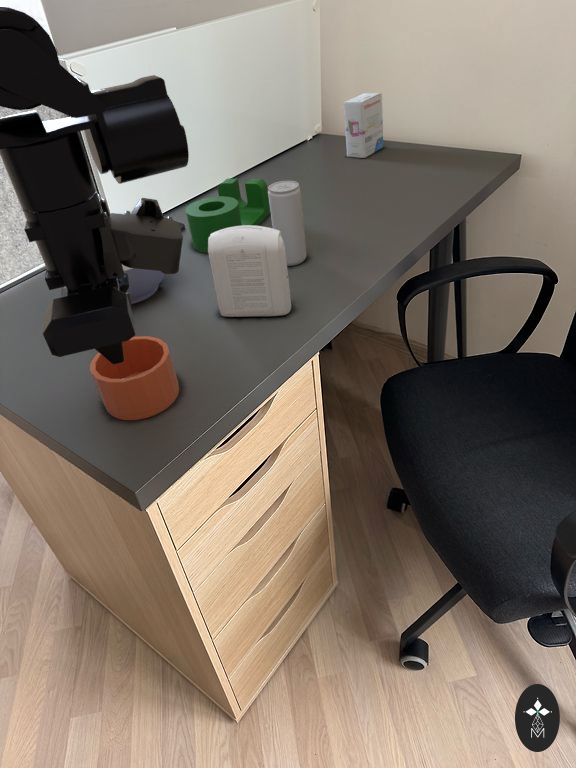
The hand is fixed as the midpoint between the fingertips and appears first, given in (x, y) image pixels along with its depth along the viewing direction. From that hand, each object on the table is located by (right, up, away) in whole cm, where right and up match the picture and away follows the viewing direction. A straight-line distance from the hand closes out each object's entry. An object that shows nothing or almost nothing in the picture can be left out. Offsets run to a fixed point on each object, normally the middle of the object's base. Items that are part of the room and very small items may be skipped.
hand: (118, 361), depth 54 cm
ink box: (+34, +51, +78) cm, 100 cm away
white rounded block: (+11, +8, +26) cm, 30 cm away
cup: (-1, -4, +14) cm, 14 cm away
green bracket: (+5, +26, +50) cm, 56 cm away
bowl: (-9, +12, +36) cm, 39 cm away
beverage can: (+17, +18, +38) cm, 45 cm away
